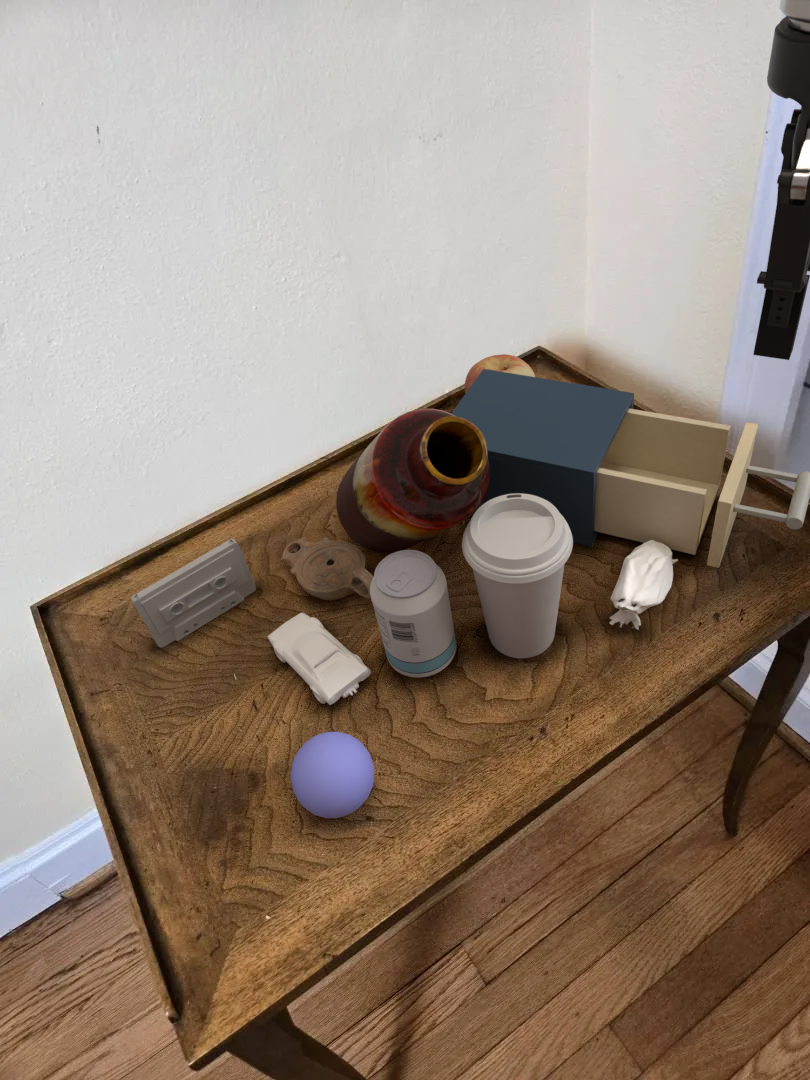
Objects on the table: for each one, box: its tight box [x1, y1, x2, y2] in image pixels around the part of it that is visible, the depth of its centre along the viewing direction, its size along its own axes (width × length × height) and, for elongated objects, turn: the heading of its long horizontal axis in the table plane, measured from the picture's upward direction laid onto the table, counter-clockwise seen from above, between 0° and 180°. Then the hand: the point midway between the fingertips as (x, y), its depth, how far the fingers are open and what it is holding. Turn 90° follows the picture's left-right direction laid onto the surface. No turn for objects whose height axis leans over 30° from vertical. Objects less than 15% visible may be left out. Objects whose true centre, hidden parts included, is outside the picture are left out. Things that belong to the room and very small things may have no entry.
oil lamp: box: [281, 536, 374, 601], centre depth 85 cm, size 13×8×5 cm, turn 47°
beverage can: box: [370, 549, 457, 678], centre depth 75 cm, size 7×7×12 cm
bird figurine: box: [608, 540, 679, 632], centre depth 78 cm, size 5×7×10 cm
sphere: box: [290, 731, 375, 819], centre depth 67 cm, size 7×7×7 cm
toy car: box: [267, 612, 372, 706], centre depth 78 cm, size 6×12×3 cm, turn 40°
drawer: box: [594, 408, 810, 569], centre depth 83 cm, size 23×12×9 cm, turn 63°
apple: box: [464, 353, 536, 395], centre depth 101 cm, size 9×9×8 cm
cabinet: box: [451, 369, 635, 548], centre depth 89 cm, size 18×14×11 cm
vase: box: [335, 408, 490, 554], centre depth 78 cm, size 11×11×26 cm
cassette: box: [130, 538, 257, 649], centre depth 84 cm, size 12×2×8 cm, turn 127°
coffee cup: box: [461, 493, 574, 659], centre depth 74 cm, size 10×10×15 cm
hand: (772, 352), depth 65 cm, fingers closed
